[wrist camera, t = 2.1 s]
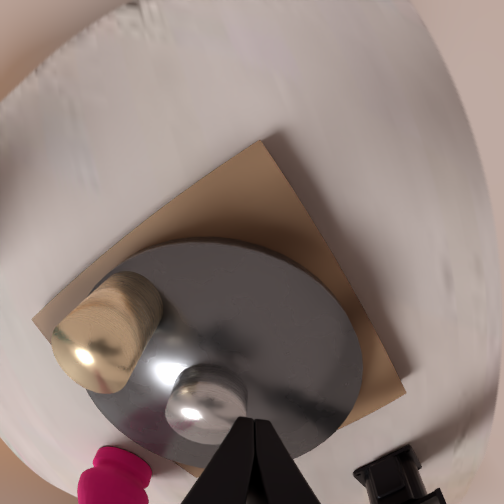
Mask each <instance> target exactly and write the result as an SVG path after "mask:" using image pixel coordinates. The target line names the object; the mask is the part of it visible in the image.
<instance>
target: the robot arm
mask: <svg viewBox="0 0 504 504" xmlns="http://www.w3.org/2000/svg"><path fill="white" fill-rule="evenodd" d="M421 468H422V466H421V464H420V462H419V460H418V458H417V456H416V454H415V453H414V451H413V449H412V447H411V446H410V445H408V446H405V447H404V448H402V449H400V450H398V451H396V452H394V453H392V454H390V455H388V456H386V457H384V458H382V459H380V460H378V461H376V462H374V463H371V464H369V465H367V466H365V467H363V468H360V469H358V470H356V471H354V472H353V476H354V477H355V478H356V479H357V480H358V481H359V482H360V483H361V484H362V485H363V486H364V487H366V489H367V493H368V496H369V500H370V504H446V502H445V499H444V497H443V495H442V492H441V490H440V488H437V489H436V490H435V491H433V492H431V493H430V494H427V492H426V489H425V486H424V484H423V481H422V479H421V476H420V474H419V471H418V470H419V469H421ZM181 504H321V503H320V502H319V500H318V499H317V497H316V495H315V494H314V492H313V491H312V489H311V488H310V486H309V485H308V483H307V481H306V480H305V478H304V477H303V475H302V473H301V472H300V470H299V469H298V467H297V465H296V464H295V462H294V460H293V459H292V457H291V455H290V454H289V452H288V450H287V449H286V447H285V445H284V444H283V442H282V440H281V439H280V437H279V435H278V434H277V432H276V430H275V428H274V427H273V425H272V423H271V422H270V421H269V420H264V419H254V420H253V418H249V417H243V416H239V417H237V419H236V420H235V422H234V424H233V425H232V427H231V429H230V430H229V432H228V433H227V435H226V437H225V438H224V440H223V441H222V443H221V444H220V446H219V448H218V449H217V451H216V452H215V454H214V455H213V457H212V458H211V460H210V461H209V463H208V465H207V466H206V468H205V469H204V471H203V472H202V474H201V475H200V477H199V478H198V479H197V481H196V482H195V484H194V485H193V487H192V488H191V490H190V491H189V493H188V494H187V496H186V497H185V498H184V500H183V501H182V503H181Z"/></svg>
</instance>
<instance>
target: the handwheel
mask: <svg viewBox="0 0 504 504" xmlns="http://www.w3.org/2000/svg"><path fill="white" fill-rule="evenodd" d="M51 343H52V349H53V353H54V356H55V358H56V360H57V362H58V363H59V365H60V366H61V368H62V369H63V370H64V372H65V373H66V374H67V375H68V376H69V377H70V378H71V379H72V380H73V381H75V382H76V383H77V384H79V385H81V386H82V387H84V388H86V390H87V392H88V394H89V396H90V397H91V399H92V400H93V402H94V403H95V405H96V406H97V408H98V409H99V410H100V411H101V412H102V414H103V415H104V416H105V417H106V418H107V419H108V420H109V421H110V422H111V423H112V424H113V425H114V426H115V427H116V428H117V429H118V430H119V431H121V432H122V433H123V434H124V435H126V436H127V437H128V438H130V439H131V440H133V441H134V442H136V443H137V444H139V445H140V446H142V447H144V448H146V449H148V450H149V451H151V452H153V453H155V454H158V455H160V456H162V457H165V458H167V459H169V460H172V461H175V462H179V463H182V464H185V465H189V466H194V467H198V468H204V469H205V468H206V466H207V465H208V463H209V461H210V460H211V458H212V457H213V455H214V454H215V452H216V451H217V449H218V448H219V446H220V444H221V443H222V441H223V440H224V438H225V437H226V435H227V433H228V432H229V430H230V429H231V427H232V425H233V424H234V422H235V420H236V419H237V417H239V416H243V417H249V418H253V420H254V419H264V420H269V421H270V422H271V423H272V425H273V427H274V428H275V430H276V432H277V434H278V435H279V437H280V439H281V440H282V442H283V444H284V445H285V447H286V449H287V450H288V452H289V454H290V455H291V457H292V459H294V458H297V457H299V456H301V455H303V454H305V453H307V452H309V451H311V450H312V449H314V448H315V447H317V446H318V445H320V444H321V443H323V442H324V441H325V440H326V439H328V438H329V437H330V436H331V435H332V434H333V433H334V432H335V431H336V430H337V429H338V428H339V427H340V426H341V425H342V423H343V422H344V421H345V420H346V418H347V417H348V415H349V414H350V412H351V410H352V409H353V407H354V404H355V402H356V400H357V398H358V395H359V391H360V387H361V384H362V375H363V361H362V352H361V348H360V344H359V341H358V337H357V335H356V333H355V331H354V329H353V327H352V324H351V322H350V320H349V318H348V316H347V314H346V312H345V311H344V309H343V307H342V305H341V304H340V302H339V301H338V300H337V298H336V297H335V295H334V294H333V293H332V291H331V290H330V289H329V288H328V287H327V286H326V285H325V284H324V283H323V282H322V281H321V280H320V279H319V278H318V277H317V276H315V275H314V274H313V273H311V272H310V271H309V270H308V269H306V268H305V267H304V266H302V265H301V264H299V263H297V262H295V261H294V260H292V259H290V258H289V257H287V256H285V255H283V254H281V253H278V252H276V251H274V250H271V249H269V248H266V247H264V246H261V245H257V244H253V243H250V242H246V241H242V240H237V239H230V238H222V237H188V238H181V239H173V240H169V241H166V242H162V243H159V244H155V245H152V246H150V247H148V248H145V249H143V250H141V251H139V252H136V253H135V254H133V255H131V256H130V257H128V258H127V259H125V260H124V261H122V262H121V263H119V264H118V265H117V266H116V267H115V268H114V269H112V270H111V271H110V272H109V273H108V274H107V275H106V276H104V277H103V278H102V279H101V280H100V281H99V282H98V283H97V284H96V285H95V286H94V288H93V289H92V291H91V292H90V293H89V295H88V296H87V297H86V299H85V300H83V301H82V302H81V303H80V304H79V305H78V306H77V307H76V308H75V309H74V310H73V311H72V312H71V313H70V314H68V315H67V316H66V317H65V318H64V319H63V320H62V321H61V322H60V323H59V324H58V325H57V326H56V327H55V329H54V330H53V333H52V338H51Z"/></svg>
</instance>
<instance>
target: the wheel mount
mask: <svg viewBox="0 0 504 504" xmlns="http://www.w3.org/2000/svg"><path fill="white" fill-rule="evenodd" d="M188 237H222V238H230V239H237V240H242V241H246V242H250V243H253V244H257V245H261V246H264V247H266V248H269V249H271V250H274V251H276V252H278V253H281V254H283V255H285V256H287V257H289V258H290V259H292V260H294V261H295V262H297V263H299V264H301V265H302V266H304V267H305V268H306V269H308V270H309V271H310V272H311V273H313V274H314V275H315V276H317V277H318V278H319V279H320V280H321V281H322V282H323V283H324V284H325V285H326V286H327V287H328V288H329V289H330V290H331V291H332V293H333V294H334V295H335V297H336V298H337V300H338V301H339V302H340V304H341V305H342V307H343V309H344V311H345V312H346V314H347V316H348V318H349V320H350V322H351V324H352V327H353V329H354V331H355V333H356V335H357V337H358V341H359V344H360V348H361V352H362V361H363V375H362V384H361V387H360V391H359V395H358V398H357V400H356V402H355V404H354V407H353V409H352V410H351V412H350V414H349V415H348V417H347V418H346V420H345V421H344V422H343V423H342V425H341V426H340V427H339V428H338V429H340V428H342V427H344V426H346V425H348V424H350V423H352V422H354V421H357V420H359V419H360V418H362V417H364V416H366V415H368V414H370V413H372V412H374V411H376V410H378V409H380V408H381V407H383V406H385V405H387V404H389V403H390V402H392V401H394V400H396V399H397V398H399V397H401V396H402V395H404V394H406V391H405V389H404V387H403V385H402V383H401V380H400V378H399V376H398V374H397V372H396V370H395V368H394V366H393V364H392V362H391V360H390V358H389V356H388V354H387V352H386V350H385V348H384V346H383V344H382V343H381V341H380V339H379V337H378V335H377V333H376V331H375V329H374V327H373V325H372V323H371V322H370V320H369V318H368V316H367V314H366V312H365V310H364V309H363V307H362V305H361V303H360V301H359V299H358V298H357V296H356V294H355V292H354V290H353V289H352V287H351V285H350V283H349V282H348V280H347V278H346V276H345V275H344V273H343V271H342V269H341V268H340V266H339V264H338V262H337V261H336V259H335V257H334V256H333V254H332V252H331V250H330V249H329V247H328V245H327V244H326V242H325V240H324V239H323V237H322V235H321V234H320V232H319V230H318V229H317V227H316V225H315V224H314V222H313V221H312V219H311V217H310V216H309V214H308V212H307V211H306V209H305V208H304V206H303V204H302V203H301V201H300V200H299V198H298V197H297V195H296V193H295V192H294V190H293V189H292V187H291V186H290V184H289V182H288V181H287V179H286V178H285V176H284V175H283V173H282V172H281V170H280V169H279V167H278V166H277V164H276V163H275V161H274V160H273V158H272V157H271V155H270V154H269V152H268V151H267V149H266V148H265V146H264V145H263V143H262V142H261V140H259V141H257V142H256V143H254V144H252V145H251V146H249V147H248V148H246V149H245V150H243V151H242V152H240V153H239V154H237V155H236V156H234V157H233V158H231V159H230V160H228V161H227V162H225V163H224V164H222V165H221V166H219V167H218V168H216V169H215V170H214V171H212V172H211V173H209V174H208V175H206V176H205V177H204V178H202V179H201V180H199V181H198V182H196V183H195V184H194V185H192V186H191V187H189V188H188V189H187V190H185V191H184V192H183V193H181V194H180V195H178V196H177V197H176V198H174V199H173V200H172V201H170V202H169V203H168V204H166V205H165V206H164V207H162V208H161V209H160V210H158V211H157V212H156V213H154V214H153V215H152V216H151V217H149V218H148V219H147V220H145V221H144V222H143V223H142V224H140V225H139V226H138V227H136V228H135V229H134V230H133V231H131V232H130V233H129V234H128V235H126V236H125V237H124V238H123V239H121V240H120V241H119V242H118V243H117V244H115V245H114V246H113V247H112V248H110V249H109V250H108V251H107V252H106V253H104V254H103V255H102V256H101V257H100V258H99V259H97V260H96V261H95V262H94V263H93V264H91V265H90V266H89V267H88V268H87V269H86V270H85V271H83V272H82V273H81V274H80V275H79V276H78V277H77V278H75V279H74V280H73V281H72V282H71V283H70V284H69V285H68V286H67V287H65V288H64V289H63V290H62V291H61V292H60V293H59V294H58V295H57V296H56V297H54V298H53V299H52V300H51V301H50V302H49V303H48V304H47V305H46V306H45V307H44V308H43V309H42V310H41V311H40V312H39V313H38V314H37V315H35V316H34V317H33V318H32V321H33V322H34V323H35V325H36V326H37V327H38V329H39V330H40V331H41V333H42V334H43V335H44V336H45V338H46V339H47V340H48V341H49V343H50V344H51V345H52V343H51V338H52V333H53V330H54V329H55V327H56V326H57V325H58V324H59V323H60V322H61V321H62V320H63V319H64V318H65V317H66V316H67V315H68V314H70V313H71V312H72V311H73V310H74V309H75V308H76V307H77V306H78V305H79V304H80V303H81V302H82V301H83V300H85V299H86V297H87V296H88V295H89V293H90V292H91V291H92V289H93V288H94V286H95V285H96V284H97V283H98V282H99V281H100V280H101V279H102V278H103V277H104V276H106V275H107V274H108V273H109V272H110V271H111V270H112V269H114V268H115V267H116V266H117V265H118V264H119V263H121V262H122V261H124V260H125V259H127V258H128V257H130V256H131V255H133V254H135V253H136V252H139V251H141V250H143V249H145V248H148V247H150V246H152V245H155V244H159V243H162V242H166V241H169V240H173V239H181V238H188ZM338 429H337V430H338ZM173 462H175V461H173ZM175 463H176V464H177V465H179V466H180V467H182V468H183V469H184V470H186V471H187V472H189V473H190V474H192V475H193V476H194V477H196V478H197V477H200V475H201V474H202V472H203V471H204V468H198V467H194V466H189V465H185V464H182V463H179V462H175Z"/></svg>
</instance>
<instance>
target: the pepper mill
mask: <svg viewBox="0 0 504 504" xmlns="http://www.w3.org/2000/svg"><path fill="white" fill-rule="evenodd" d="M93 465H94V467H93V468H90V469H87V470H85V471H84V472H83V473H82V474H81V476H80V479H79V483H78V490H77V493H78V503H79V504H148V503H149V500H148V496H147V494H146V492H145V490H144V488H146V487H148V485H149V482H150V479H151V475H152V471H151V468H150V466H149V465H148V464H147V463H146V462H145V461H144V460H142V459H141V458H139V457H138V456H136V455H134V454H132V453H130V452H128V451H126V450H123V449H120V448H116V447H102V448H100V449H99V450H98V451H97V453H96V456H95V458H94V460H93Z"/></svg>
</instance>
